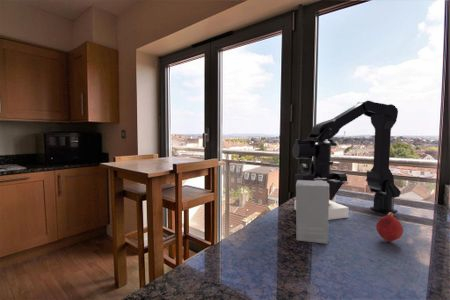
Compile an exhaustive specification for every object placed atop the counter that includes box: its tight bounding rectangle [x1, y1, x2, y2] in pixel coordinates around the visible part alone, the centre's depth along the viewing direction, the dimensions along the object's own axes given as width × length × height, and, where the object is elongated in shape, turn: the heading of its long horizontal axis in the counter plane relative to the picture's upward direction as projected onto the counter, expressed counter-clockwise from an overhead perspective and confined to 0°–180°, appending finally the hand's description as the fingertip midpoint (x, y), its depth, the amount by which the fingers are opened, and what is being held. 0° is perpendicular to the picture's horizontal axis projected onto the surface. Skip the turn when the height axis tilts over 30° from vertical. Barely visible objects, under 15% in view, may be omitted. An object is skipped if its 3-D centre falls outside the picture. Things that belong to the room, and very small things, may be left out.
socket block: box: [293, 199, 350, 221], centre depth 86 cm, size 13×13×4 cm
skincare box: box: [295, 180, 329, 245], centre depth 65 cm, size 8×7×16 cm
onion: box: [375, 212, 404, 243], centre depth 63 cm, size 6×6×8 cm
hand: (320, 201), depth 86 cm, fingers open, 9 cm apart
